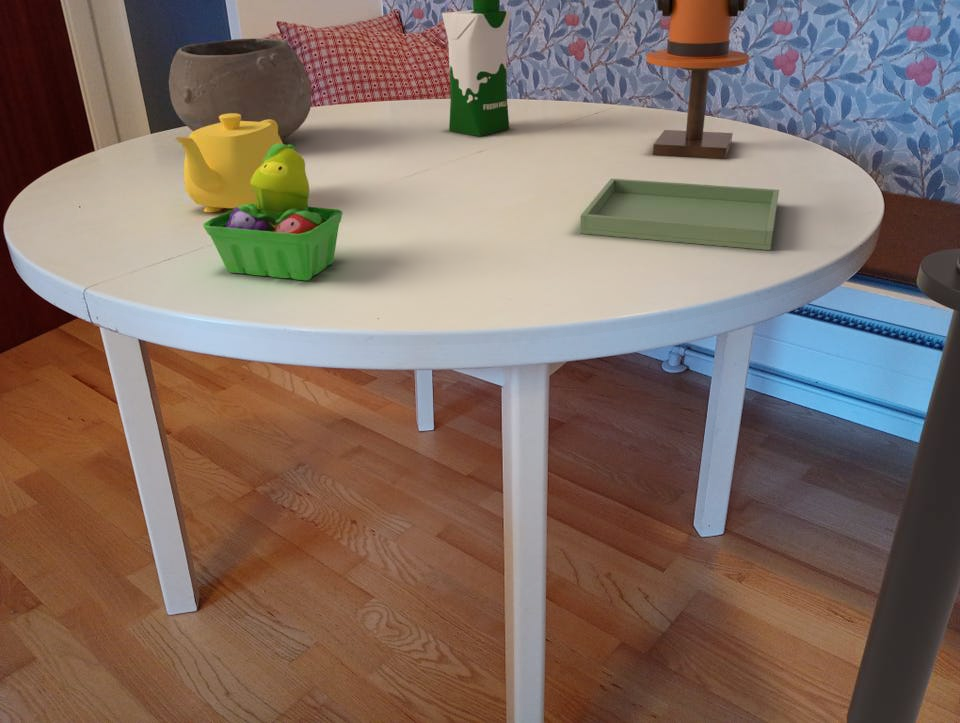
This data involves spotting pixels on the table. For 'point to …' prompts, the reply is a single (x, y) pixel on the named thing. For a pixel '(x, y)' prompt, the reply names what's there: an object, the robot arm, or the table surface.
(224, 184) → the teapot
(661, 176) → the table surface
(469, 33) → the milk carton
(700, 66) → the hat
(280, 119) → the clay pot
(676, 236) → the tray
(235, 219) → the fruit basket
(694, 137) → the stand
